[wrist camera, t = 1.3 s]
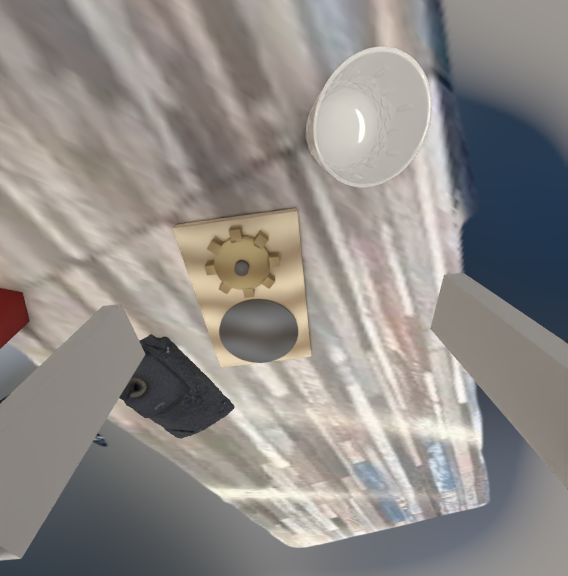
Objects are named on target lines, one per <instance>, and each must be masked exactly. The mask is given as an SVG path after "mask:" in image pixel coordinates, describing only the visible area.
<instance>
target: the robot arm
mask: <svg viewBox="0 0 568 576" xmlns="http://www.w3.org/2000/svg"><path fill="white" fill-rule="evenodd" d="M431 330H432V331H433V332H434V333H435V335H436V336H437V337H438V338H439V339H440V340H441V342H442V343H443V344H444V345H445V346H446V347H447V349H448V350H449V351H450V352H451V353H452V354H453V356H454V357H455V358H456V359H457V360H458V361H459V363H460V364H461V365H462V366H463V367H464V368H465V370H466V371H467V372H468V373H469V374H470V376H471V377H472V378H473V379H474V380H475V381H476V383H477V384H478V385H479V386H480V387H481V388H482V389H483V391H484V392H485V393H486V394H487V395H488V397H489V398H490V399H491V400H492V401H493V402H494V404H495V405H496V406H497V407H498V408H499V409H500V411H501V412H502V413H503V414H504V415H505V416H506V418H507V419H508V420H509V421H510V422H511V423H512V425H513V426H514V427H515V428H516V429H517V430H518V432H519V433H520V434H521V435H522V436H523V438H524V439H525V440H526V441H527V442H528V443H529V444H530V445H531V447H532V448H533V449H534V450H535V452H536V453H537V454H538V455H539V456H540V457H541V459H542V460H543V461H544V462H545V463H546V464H547V466H548V467H549V468H550V469H551V470H552V471H553V473H554V474H555V475H556V476H557V477H558V478H559V480H560V481H561V482H562V483H563V484H564V485H565V487H566V488H567V489H568V341H563V340H561V339H560V338H558V337H557V336H556V335H554V334H553V333H551V332H550V331H548V330H547V329H545V328H544V327H542V326H541V325H539V324H538V323H536V322H535V321H533V320H532V319H530V318H529V317H527V316H526V315H524V314H523V313H522V312H520V311H519V310H517V309H515V308H514V307H512V306H511V305H510V304H508V303H507V302H505V301H504V300H502V299H501V298H499V297H498V296H496V295H495V294H493V293H492V292H490V291H489V290H487V289H486V288H485V287H483V286H482V285H480V284H478V283H477V282H476V281H474V280H473V279H471V278H470V277H468V276H467V275H465V274H464V273H459V274H448V275H444V278H443V281H442V285H441V289H440V293H439V297H438V301H437V305H436V309H435V313H434V317H433V321H432V325H431ZM144 356H145V352H144V350H143V348H142V346H141V344H140V342H139V340H138V338H137V336H136V333H135V331H134V329H133V327H132V325H131V323H130V321H129V319H128V317H127V315H126V313H125V310H124V308H123V306H122V304H120V305H109V306H103V307H101V308H100V309H99V310H98V311H97V312H96V313H95V314H94V315H93V316H92V317H91V318H90V319H89V320H88V321H87V322H86V323H85V324H84V325H83V326H81V327H80V328H79V329H78V330H77V331H76V332H75V333H74V334H73V335H72V336H71V337H70V338H69V339H68V340H67V341H66V342H65V343H64V344H63V345H62V346H60V347H59V348H58V349H57V350H56V351H55V352H54V353H53V354H52V355H51V356H50V357H49V358H48V359H47V360H46V361H45V362H44V363H43V364H42V365H40V366H39V367H38V368H37V369H36V370H35V371H34V372H33V373H32V374H31V375H30V376H29V377H28V378H27V379H26V380H25V381H24V382H23V383H22V384H20V386H18V387H17V388H16V389H15V390H14V391H13V392H12V393H11V394H9V395H8V396H6V397H5V398H3V399H2V400H0V560H7V559H20V558H22V556H23V555H24V553H25V552H26V550H27V548H28V546H29V545H30V543H31V541H32V540H33V538H34V537H35V535H36V533H37V532H38V530H39V528H40V527H41V525H42V524H43V522H44V520H45V519H46V517H47V515H48V514H49V512H50V510H51V509H52V507H53V505H54V504H55V502H56V501H57V499H58V497H59V496H60V494H61V492H62V490H63V489H64V487H65V486H66V484H67V482H68V481H69V479H70V478H71V476H72V474H73V473H74V471H75V469H76V468H77V466H78V464H79V463H80V461H81V459H82V458H83V456H84V455H85V453H86V451H87V450H88V448H89V446H90V445H91V443H92V441H93V440H94V438H95V436H96V435H97V433H98V431H99V430H100V428H101V426H102V425H103V423H104V421H105V420H106V418H107V417H108V415H109V413H110V412H111V410H112V408H113V407H114V405H115V404H116V402H117V400H118V399H119V397H120V395H121V394H122V392H123V390H124V389H125V387H126V385H127V384H128V382H129V381H130V379H131V377H132V376H133V374H134V372H135V371H136V369H137V367H138V366H139V364H140V362H141V361H142V359H143V357H144Z"/></svg>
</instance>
